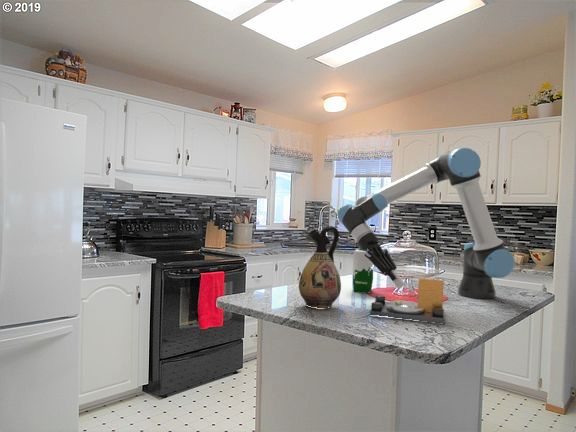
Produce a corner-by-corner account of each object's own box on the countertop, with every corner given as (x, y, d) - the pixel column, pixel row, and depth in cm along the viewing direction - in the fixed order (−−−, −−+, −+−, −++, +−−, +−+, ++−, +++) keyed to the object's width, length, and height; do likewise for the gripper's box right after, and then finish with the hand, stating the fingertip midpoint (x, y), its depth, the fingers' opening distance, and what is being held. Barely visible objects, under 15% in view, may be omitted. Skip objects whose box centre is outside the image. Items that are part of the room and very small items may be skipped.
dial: (384, 311, 148) (385, 278, 148) (388, 303, 161) (389, 273, 160) (442, 317, 142) (444, 283, 142) (441, 308, 155) (443, 277, 154)
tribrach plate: (442, 312, 158) (442, 301, 158) (444, 324, 142) (444, 311, 142) (375, 306, 165) (375, 294, 165) (369, 316, 149) (370, 304, 149)
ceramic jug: (305, 313, 152) (308, 226, 151) (293, 302, 167) (295, 224, 166) (351, 311, 156) (354, 227, 155) (335, 301, 171) (337, 224, 170)
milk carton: (373, 290, 197) (375, 245, 196) (371, 293, 188) (372, 247, 188) (353, 288, 199) (355, 244, 199) (350, 292, 191) (352, 246, 190)
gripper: (368, 243, 178) (404, 290, 167) (349, 244, 169) (385, 294, 157) (380, 230, 174) (417, 278, 163) (360, 232, 165) (398, 282, 153)
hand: (401, 286), depth 160 cm, fingers closed
